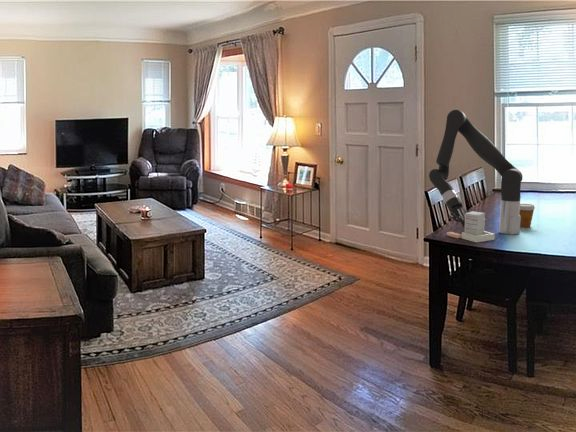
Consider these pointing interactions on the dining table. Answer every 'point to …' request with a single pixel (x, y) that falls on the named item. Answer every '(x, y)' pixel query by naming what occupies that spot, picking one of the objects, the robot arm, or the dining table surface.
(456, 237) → the trap left
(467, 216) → the supplement box
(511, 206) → the robot arm
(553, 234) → the dining table surface
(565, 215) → the dining table surface
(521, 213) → the disposable coffee cup
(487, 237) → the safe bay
